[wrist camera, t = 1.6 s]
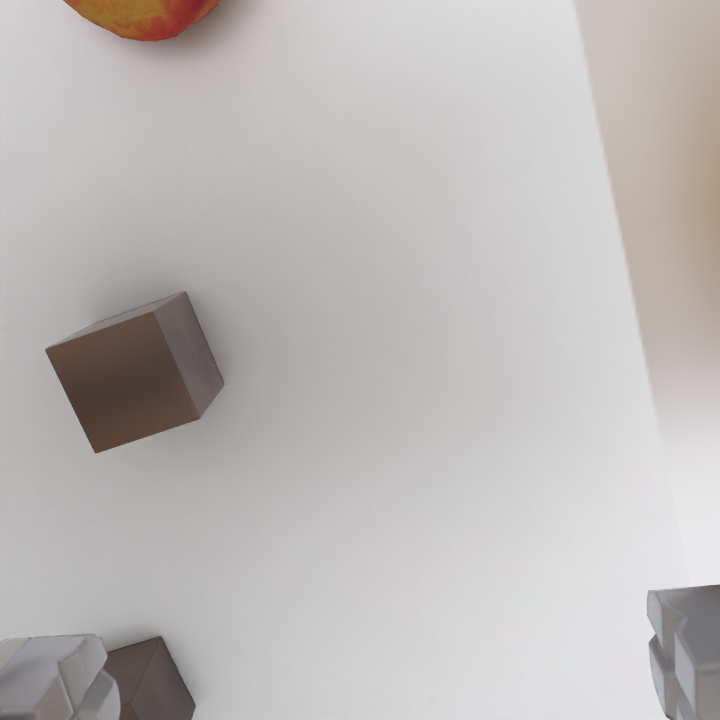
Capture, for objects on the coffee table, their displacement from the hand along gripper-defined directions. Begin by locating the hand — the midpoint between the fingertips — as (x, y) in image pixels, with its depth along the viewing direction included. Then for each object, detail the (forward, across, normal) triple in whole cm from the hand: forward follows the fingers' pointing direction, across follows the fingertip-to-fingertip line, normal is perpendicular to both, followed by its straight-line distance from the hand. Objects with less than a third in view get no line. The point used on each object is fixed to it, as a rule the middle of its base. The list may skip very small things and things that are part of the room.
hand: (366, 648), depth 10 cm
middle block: (+23, -12, -1) cm, 26 cm away
